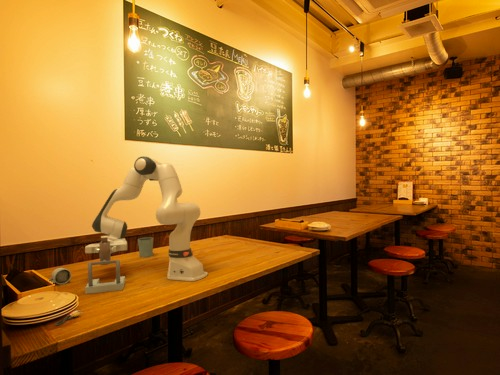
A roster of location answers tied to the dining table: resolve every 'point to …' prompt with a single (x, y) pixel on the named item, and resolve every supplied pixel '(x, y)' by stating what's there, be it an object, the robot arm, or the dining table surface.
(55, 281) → the ceramic mug
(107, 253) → the sake bottle
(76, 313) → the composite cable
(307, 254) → the dining table surface
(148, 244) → the grey tapered bin
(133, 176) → the robot arm
